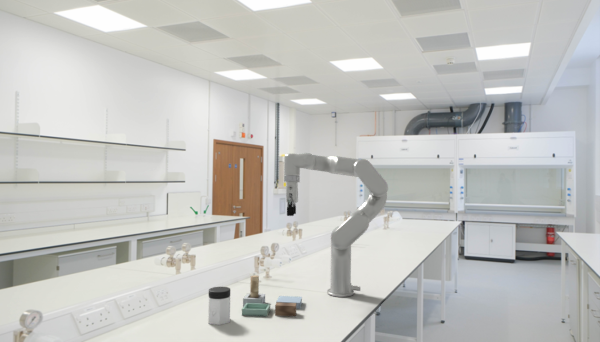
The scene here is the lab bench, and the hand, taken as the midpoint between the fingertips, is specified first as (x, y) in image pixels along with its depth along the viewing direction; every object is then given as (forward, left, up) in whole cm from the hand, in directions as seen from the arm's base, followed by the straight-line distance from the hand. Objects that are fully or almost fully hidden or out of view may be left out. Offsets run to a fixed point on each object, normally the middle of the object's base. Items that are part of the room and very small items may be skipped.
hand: (291, 214), depth 198 cm
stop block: (-2, +33, -37) cm, 49 cm away
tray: (+10, +33, -37) cm, 50 cm away
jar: (+22, +44, -37) cm, 62 cm away
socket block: (+13, +22, -37) cm, 45 cm away
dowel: (+13, +22, -37) cm, 45 cm away
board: (-2, +21, -37) cm, 43 cm away
